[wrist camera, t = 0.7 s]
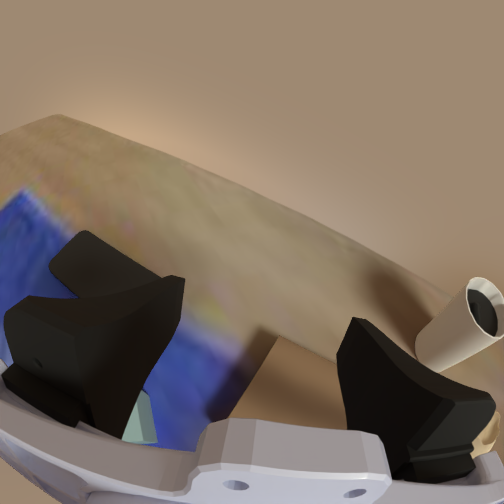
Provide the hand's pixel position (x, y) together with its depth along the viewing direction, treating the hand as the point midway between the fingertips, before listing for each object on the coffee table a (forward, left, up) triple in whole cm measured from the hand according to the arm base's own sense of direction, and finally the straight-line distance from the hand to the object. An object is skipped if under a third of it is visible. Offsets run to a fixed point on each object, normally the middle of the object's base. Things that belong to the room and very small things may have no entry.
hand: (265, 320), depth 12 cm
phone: (+2, +20, -16) cm, 26 cm away
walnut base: (+1, -5, -16) cm, 17 cm away
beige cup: (+14, -17, -16) cm, 27 cm away
